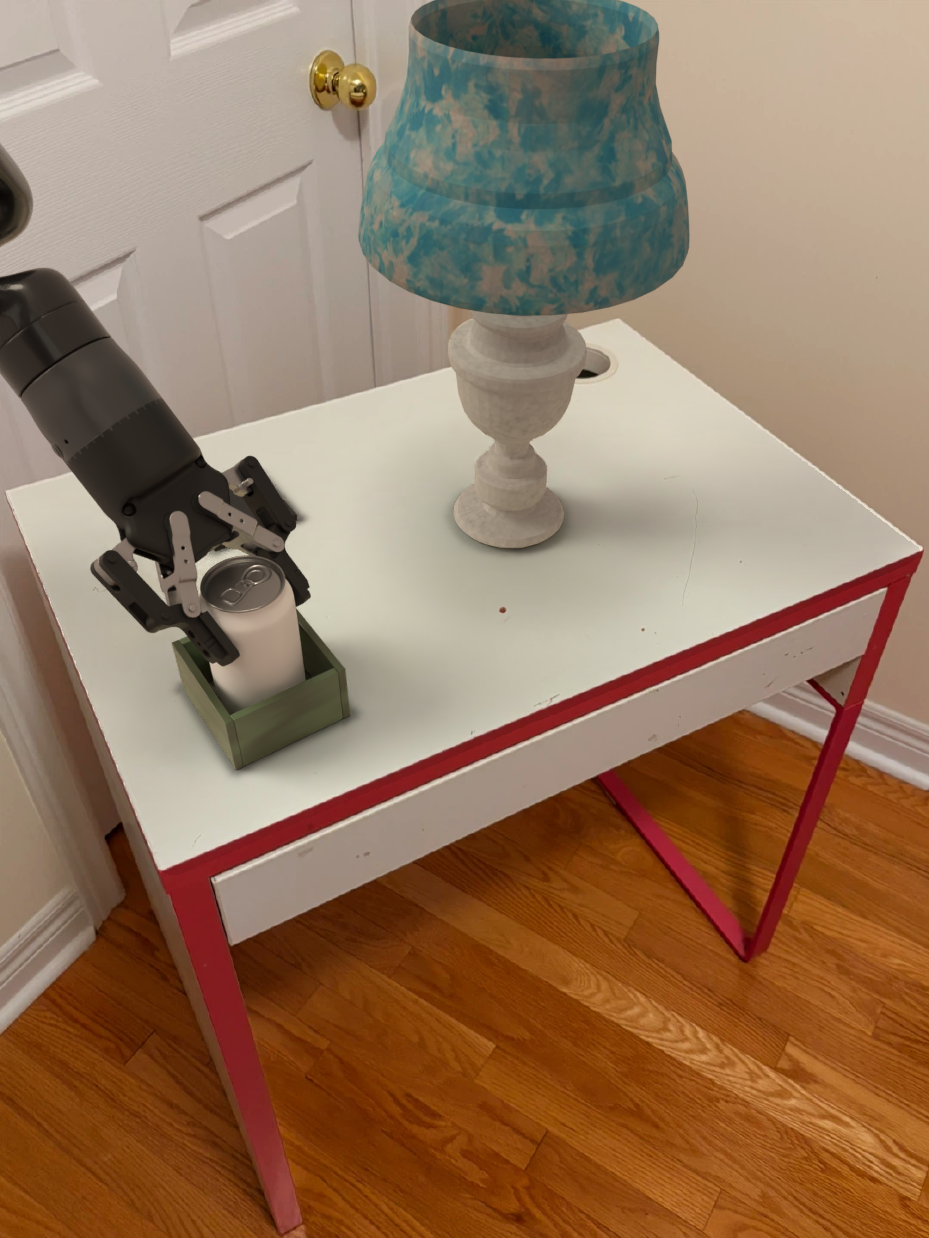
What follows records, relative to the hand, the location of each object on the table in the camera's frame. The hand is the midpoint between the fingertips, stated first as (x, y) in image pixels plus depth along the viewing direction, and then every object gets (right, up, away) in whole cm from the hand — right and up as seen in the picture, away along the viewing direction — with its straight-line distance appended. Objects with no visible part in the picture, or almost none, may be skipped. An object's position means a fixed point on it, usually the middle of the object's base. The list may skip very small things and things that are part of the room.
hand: (267, 630), depth 72 cm
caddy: (-1, -5, +7) cm, 9 cm away
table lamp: (+17, +10, +23) cm, 30 cm away
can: (-2, -6, +7) cm, 9 cm away
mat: (-7, +10, +23) cm, 26 cm away
